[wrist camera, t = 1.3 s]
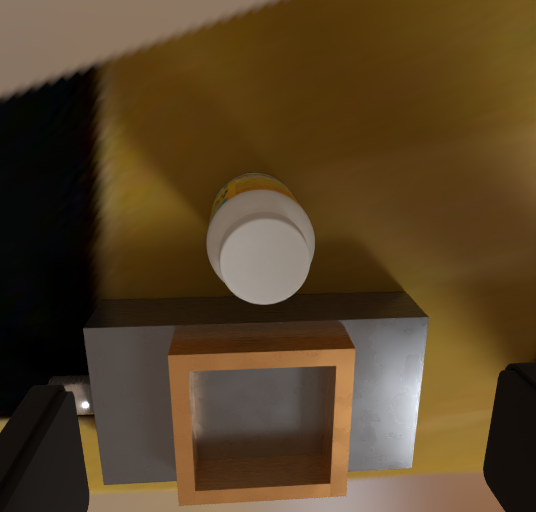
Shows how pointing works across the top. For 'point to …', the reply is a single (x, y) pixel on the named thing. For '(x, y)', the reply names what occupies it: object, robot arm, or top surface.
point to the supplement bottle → (259, 239)
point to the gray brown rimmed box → (252, 392)
